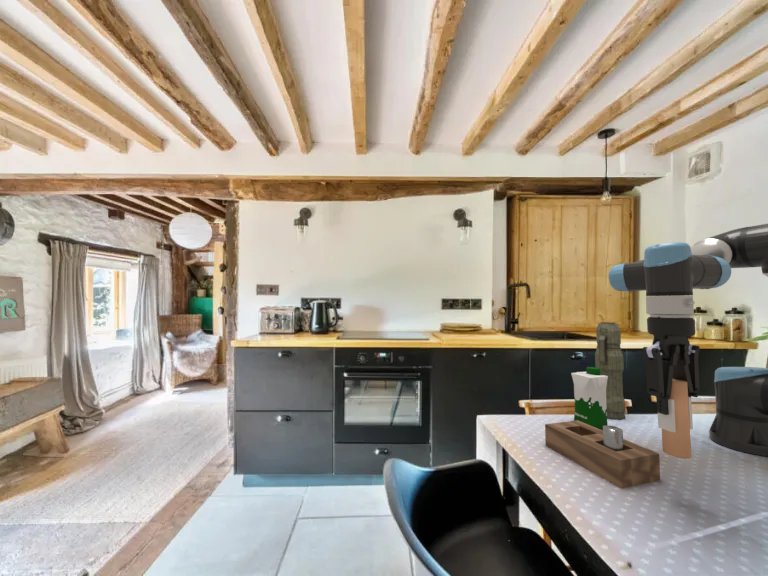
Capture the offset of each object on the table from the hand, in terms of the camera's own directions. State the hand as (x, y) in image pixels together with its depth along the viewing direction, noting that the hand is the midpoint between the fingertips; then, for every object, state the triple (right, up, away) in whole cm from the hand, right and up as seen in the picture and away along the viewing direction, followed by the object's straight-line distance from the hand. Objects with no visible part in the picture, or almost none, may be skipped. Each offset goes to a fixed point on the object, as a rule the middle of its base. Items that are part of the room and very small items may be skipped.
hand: (675, 427), depth 66 cm
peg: (0, -5, 0) cm, 5 cm away
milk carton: (+9, -18, +41) cm, 46 cm away
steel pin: (-4, -16, +12) cm, 20 cm away
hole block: (-5, -17, +16) cm, 24 cm away
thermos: (+25, -19, +53) cm, 62 cm away
